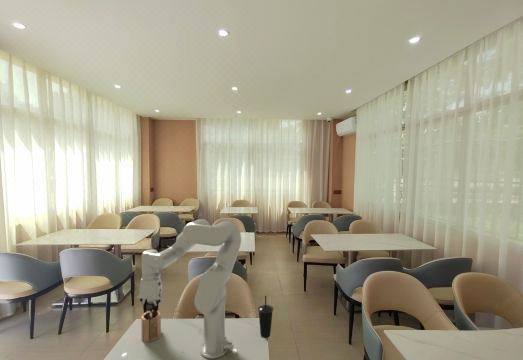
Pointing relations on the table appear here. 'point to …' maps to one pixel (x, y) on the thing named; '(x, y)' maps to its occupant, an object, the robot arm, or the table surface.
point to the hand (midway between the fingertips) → (150, 311)
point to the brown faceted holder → (150, 326)
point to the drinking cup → (265, 319)
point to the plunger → (150, 307)
